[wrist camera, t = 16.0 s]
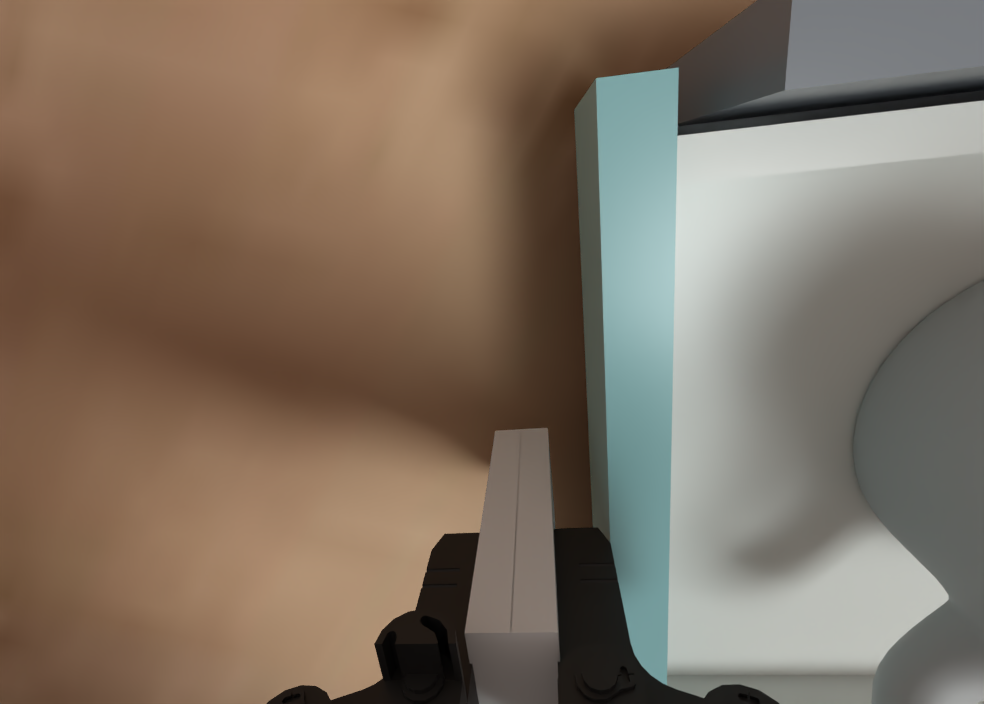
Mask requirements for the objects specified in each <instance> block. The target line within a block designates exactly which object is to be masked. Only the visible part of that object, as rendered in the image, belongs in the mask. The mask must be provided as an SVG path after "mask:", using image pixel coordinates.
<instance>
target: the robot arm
mask: <svg viewBox="0 0 984 704" xmlns="http://www.w3.org/2000/svg"><path fill="white" fill-rule="evenodd" d="M375 648H376V652H377V656H378V660H379V664H380V668H381V672H382V676H383V679H382V680H380V681H379V682H377V683H376V684H374V685H372V686H370V687H368V688H366V689H363V690H361V691H358V692H355V693H352V694H349V695H346V696H343V697H340V698H336V699H333V700H330V699H329V696H328V694H327V692H325V691H323V690H322V689H320V688H318V687H316V686H304V685H301V686H298V687H295V688H291V689H288V690H285V691H284V692H282V693H281V694H279V695H278V696H276V697H274V698H273V699H271V700H270V701H269V702H268V703H267V704H779V703H778V702H777V701H776V700H774V699H772V698H771V697H769V696H768V695H766V694H765V693H763V692H761V691H760V690H757V689H754V688H751V687H747V686H744V685H741V684H732V685H721V686H719V687H717V688H715V689H713V690H711V691H709V692H708V693H707V695H706V696H705V698H702V697H699V696H696V695H693V694H690V693H687V692H683V691H680V690H677V689H675V688H672V687H670V686H668V685H665V684H663V683H662V682H660V681H659V680H657V679H656V678H654V677H653V676H651V675H650V674H649V673H648V672H647V671H646V670H645V669H644V668H643V667H642V666H641V664H640V663H639V661H638V659H637V658H636V656H635V655H634V652H633V649H632V646H631V642H630V637H629V632H628V627H627V622H626V617H625V612H624V607H623V602H622V597H621V592H620V587H619V583H618V577H617V573H616V568H615V563H614V558H613V553H612V548H611V543H610V542H609V541H608V539H607V538H606V537H605V536H604V534H603V533H602V532H601V531H600V529H599V528H598V527H593V528H564V529H555V514H554V500H553V487H552V475H551V462H550V450H549V437H548V428H535V429H517V430H499V431H495V435H494V442H493V449H492V455H491V462H490V468H489V475H488V482H487V488H486V495H485V501H484V508H483V515H482V521H481V528H480V533H457V534H444V536H443V537H442V538H441V539H440V541H439V542H438V543H437V544H436V545H435V547H434V548H433V549H432V551H431V555H430V558H429V562H428V566H427V573H425V577H424V581H423V588H421V592H420V596H419V599H418V603H417V607H416V610H415V611H410V612H407V613H405V614H403V615H401V616H399V617H397V618H395V619H394V620H393V621H391V622H390V623H389V624H388V625H387V626H386V627H385V628H384V629H383V630H382V631H381V633H380V635H379V637H378V639H377V640H376V642H375Z"/></svg>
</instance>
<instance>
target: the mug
mask: <svg viewBox="0 0 984 704" xmlns="http://www.w3.org/2000/svg"><path fill="white" fill-rule="evenodd" d="M853 459H854V466H855V472H856V476H857V479H858V482H859V485H860V488H861V491H862V493H863V494H864V496H865V498H866V500H867V502H868V504H869V505H870V507H871V509H872V511H873V512H874V513H875V515H876V516H877V517H878V518H879V520H880V521H881V522H882V523H883V525H884V526H885V527H886V528H887V529H888V530H889V531H890V533H891V534H892V535H893V536H894V537H895V538H896V539H897V540H898V541H899V542H900V543H901V544H902V545H903V546H904V547H905V548H906V549H907V550H908V551H909V552H910V553H911V554H912V555H913V556H914V557H915V558H916V559H917V560H918V561H919V562H920V563H921V564H922V565H923V566H924V567H925V568H926V569H927V570H928V571H929V572H930V573H931V574H932V575H933V576H934V577H935V578H936V579H937V580H938V582H939V583H940V584H941V585H942V586H943V588H944V589H945V591H946V592H947V594H948V595H949V600H948V601H947V602H945V603H944V604H943V605H942V606H940V607H939V608H938V609H936V610H935V611H934V612H932V613H931V614H930V615H928V616H927V617H925V618H924V619H923V620H922V621H920V622H919V623H918V624H916V625H915V626H914V627H913V628H911V629H910V630H909V631H908V632H907V633H906V634H905V635H903V636H902V637H901V638H900V639H899V640H898V641H897V642H896V643H895V644H894V645H893V646H892V647H891V648H890V649H889V650H888V652H887V653H886V655H885V656H884V658H883V659H882V661H881V662H880V663H879V665H878V668H877V671H876V674H875V676H874V679H873V684H872V701H871V703H872V704H977V703H979V702H980V701H983V700H984V281H982V282H980V283H978V284H976V285H974V286H972V287H970V288H968V289H967V290H965V291H963V292H961V293H960V294H958V295H957V296H955V297H954V298H952V299H951V300H949V301H948V302H946V303H944V304H943V305H941V306H940V307H939V308H937V309H936V310H935V311H934V312H932V313H931V314H930V315H929V316H927V317H926V318H925V319H924V320H922V321H921V322H920V323H919V324H918V325H917V326H916V327H915V328H914V329H913V330H912V331H911V332H910V333H909V334H908V335H907V336H906V337H904V338H903V339H902V340H901V342H900V343H899V344H898V345H897V346H896V348H895V349H894V350H893V351H892V352H891V354H890V355H889V356H888V357H887V358H886V360H885V361H884V363H883V364H882V366H881V367H880V369H879V370H878V372H877V373H876V375H875V377H874V378H873V380H872V382H871V384H870V386H869V388H868V390H867V392H866V394H865V396H864V398H863V401H862V404H861V407H860V410H859V413H858V416H857V421H856V427H855V432H854V438H853Z"/></svg>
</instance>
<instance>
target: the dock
mask: <svg viewBox="0 0 984 704" xmlns="http://www.w3.org/2000/svg"><path fill="white" fill-rule="evenodd" d="M671 68H679V79H678V132H677V136H680V135H688V134H697V133H706V132H714V131H723V130H732V129H741V128H749V127H758V126H767V125H775V124H784V123H793V122H801V121H810V120H819V119H827V118H836V117H845V116H853V115H862V114H871V113H879V112H888V111H897V110H906V109H914V108H923V107H932V106H940V105H949V104H958V103H966V102H975V101H984V0H757V1H756V2H754V3H753V4H752V5H750V6H749V7H748V8H746V9H745V10H744V11H742V12H741V13H740V14H738V15H737V16H736V17H734V18H733V19H732V20H730V21H729V22H728V23H726V24H725V25H724V26H723V27H721V28H720V29H719V30H717V31H716V32H715V33H713V34H712V35H711V36H709V37H708V38H707V39H705V40H704V41H703V42H701V43H700V44H699V45H697V46H696V47H695V48H693V49H692V50H691V51H689V52H688V53H687V54H685V55H684V56H683V57H681V58H680V59H679V60H677V61H676V62H675V63H673V64H672V65H671V66H669V67H668V68H667V69H671Z"/></svg>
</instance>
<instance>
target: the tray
mask: <svg viewBox="0 0 984 704" xmlns="http://www.w3.org/2000/svg"><path fill="white" fill-rule="evenodd" d="M678 79H679V68H671V69H663V70H656V71H648V72H640V73H632V74H625V75H617V76H609V77H602V78H596V79H595V80H594V82H593V83H592V85H591V86H590V88H589V89H588V91H587V92H586V93H585V95H584V96H583V98H582V99H581V101H580V102H579V104H578V105H577V107H576V108H575V109H574V116H575V139H576V161H577V184H578V206H579V229H580V251H581V273H582V296H583V318H584V341H585V363H586V386H587V408H588V431H589V453H590V476H591V498H592V521H593V527H598V528H599V529H600V531H601V532H602V533H603V534H604V536H605V537H606V538H607V539H608V541H609V542H610V543H611V548H612V553H613V558H614V563H615V568H616V573H617V577H618V583H619V587H620V592H621V597H622V602H623V607H624V612H625V617H626V622H627V627H628V632H629V637H630V642H631V646H632V649H633V652H634V655H635V656H636V658H637V659H638V661H639V663H640V664H641V666H642V667H643V668H644V669H645V670H646V671H647V672H648V673H649V674H650V675H651V676H653V677H654V678H656V679H657V680H659V681H660V682H662V683H663V684H665V685H668V686H670V687H672V688H675V689H677V690H680V691H683V692H687V693H690V694H693V695H696V696H699V697H702V698H705V696H706V695H707V693H708V692H709V691H711V690H713V689H715V688H717V687H719V686H721V685H732V684H741V685H744V686H747V687H751V688H754V689H757V690H760V691H761V692H763V693H765V694H766V695H768V696H769V697H771V698H772V699H774V700H776V701H777V702H778V703H779V704H872V703H871V701H872V684H873V679H874V676H875V674H876V671H877V668H878V665H879V663H880V662H881V661H882V659H883V658H884V656H885V655H886V653H887V652H888V650H889V649H890V648H891V647H892V646H893V645H894V644H895V643H896V642H897V641H898V640H899V639H900V638H901V637H902V636H903V635H905V634H906V633H907V632H908V631H909V630H910V629H911V628H913V627H914V626H915V625H916V624H918V623H919V622H920V621H922V620H923V619H924V618H925V617H927V616H928V615H930V614H931V613H932V612H934V611H935V610H936V609H938V608H939V607H940V606H942V605H943V604H944V603H945V602H947V601H948V600H949V595H948V594H947V592H946V591H945V589H944V588H943V586H942V585H941V584H940V583H939V582H938V580H937V579H936V578H935V577H934V576H933V575H932V574H931V573H930V572H929V571H928V570H927V569H926V568H925V567H924V566H923V565H922V564H921V563H920V562H919V561H918V560H917V559H916V558H915V557H914V556H913V555H912V554H911V553H910V552H909V551H908V550H907V549H906V548H905V547H904V546H903V545H902V544H901V543H900V542H899V541H898V540H897V539H896V538H895V537H894V536H893V535H892V534H891V533H890V531H889V530H888V529H887V528H886V527H885V526H884V525H883V523H882V522H881V521H880V520H879V518H878V517H877V516H876V515H875V513H874V512H873V511H872V509H871V507H870V505H869V504H868V502H867V500H866V498H865V496H864V494H863V493H862V491H861V488H860V485H859V482H858V479H857V476H856V472H855V466H854V459H853V438H854V432H855V427H856V421H857V416H858V413H859V410H860V407H861V404H862V401H863V398H864V396H865V394H866V392H867V390H868V388H869V386H870V384H871V382H872V380H873V378H874V377H875V375H876V373H877V372H878V370H879V369H880V367H881V366H882V364H883V363H884V361H885V360H886V358H887V357H888V356H889V355H890V354H891V352H892V351H893V350H894V349H895V348H896V346H897V345H898V344H899V343H900V342H901V340H902V339H903V338H904V337H906V336H907V335H908V334H909V333H910V332H911V331H912V330H913V329H914V328H915V327H916V326H917V325H918V324H919V323H920V322H921V321H922V320H924V319H925V318H926V317H927V316H929V315H930V314H931V313H932V312H934V311H935V310H936V309H937V308H939V307H940V306H941V305H943V304H944V303H946V302H948V301H949V300H951V299H952V298H954V297H955V296H957V295H958V294H960V293H961V292H963V291H965V290H967V289H968V288H970V287H972V286H974V285H976V284H978V283H980V282H982V281H984V101H975V102H966V103H958V104H949V105H940V106H932V107H923V108H914V109H906V110H897V111H888V112H879V113H871V114H862V115H853V116H845V117H836V118H827V119H819V120H810V121H801V122H793V123H784V124H775V125H767V126H758V127H749V128H741V129H732V130H723V131H714V132H706V133H697V134H688V135H680V136H677V132H678ZM977 704H984V700H983V701H980V702H979V703H977Z"/></svg>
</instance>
